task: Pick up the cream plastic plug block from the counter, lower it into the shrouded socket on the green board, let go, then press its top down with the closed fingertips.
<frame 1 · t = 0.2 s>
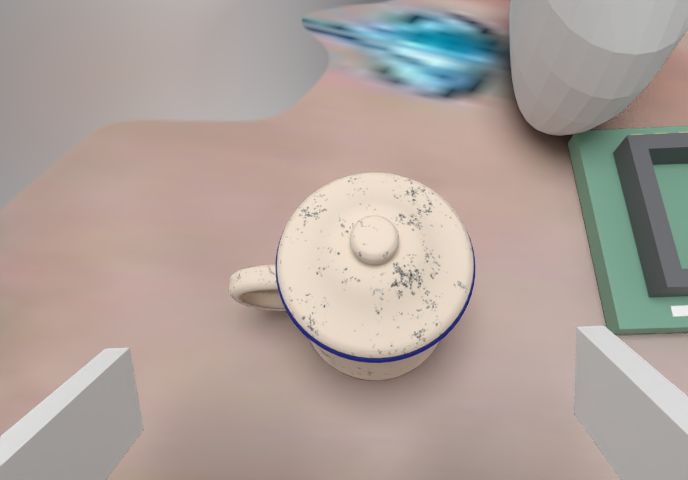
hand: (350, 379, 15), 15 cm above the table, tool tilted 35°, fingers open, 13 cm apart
header board: (684, 228, 32), on the table
teacup with lid: (350, 310, 32), on the table
white round bottle: (554, 85, 37), on the table, touching header board
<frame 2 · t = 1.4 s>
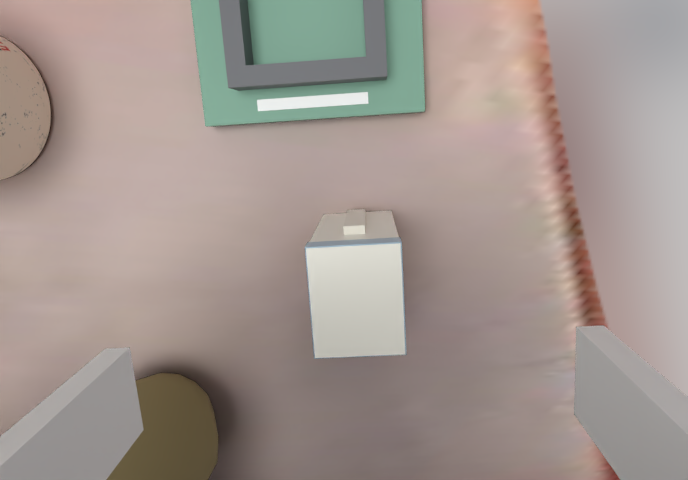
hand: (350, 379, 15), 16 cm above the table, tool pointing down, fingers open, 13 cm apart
plug: (359, 253, 31), on the table
squeeze bottle: (170, 412, 34), on the table, touching arm
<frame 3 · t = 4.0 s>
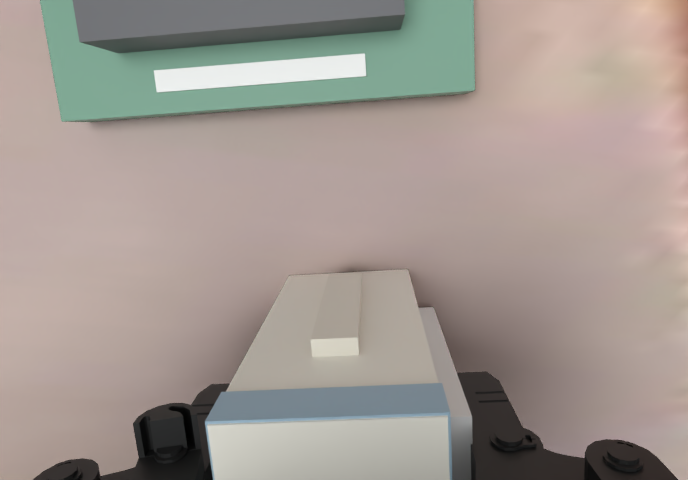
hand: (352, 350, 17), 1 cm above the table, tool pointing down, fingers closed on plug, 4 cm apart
plug: (353, 341, 18), on the table, touching gripper
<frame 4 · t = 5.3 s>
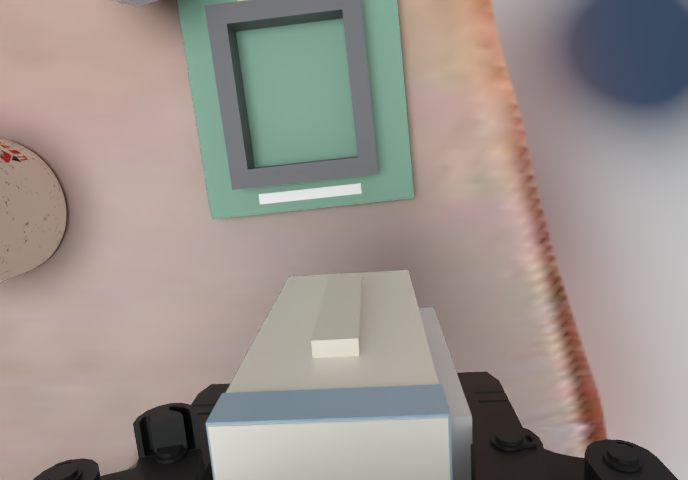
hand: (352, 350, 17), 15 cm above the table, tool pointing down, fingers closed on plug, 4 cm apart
plug: (353, 342, 18), point 15 cm above the table, touching gripper
header board: (300, 97, 31), on the table
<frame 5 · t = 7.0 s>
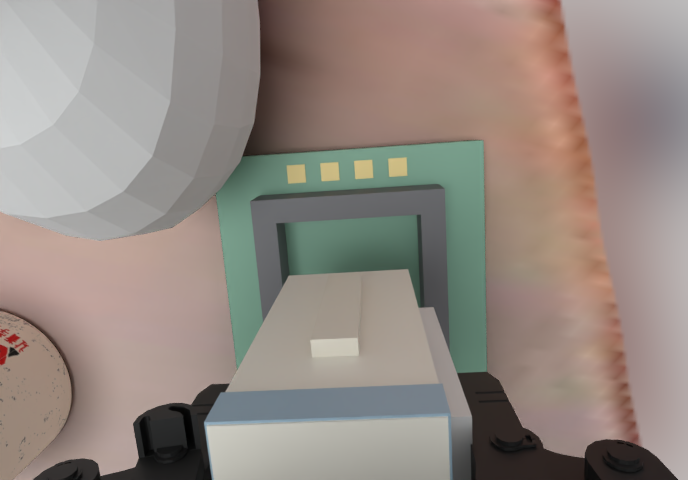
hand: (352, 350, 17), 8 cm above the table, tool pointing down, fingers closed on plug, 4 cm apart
plug: (353, 342, 18), point 8 cm above the table, touching gripper
header board: (355, 282, 26), on the table
white round bottle: (209, 47, 24), on the table, touching header board
when the fingers open (4 cm above the table, at t = 8.4 s): plug drops 2 cm, resting on header board.
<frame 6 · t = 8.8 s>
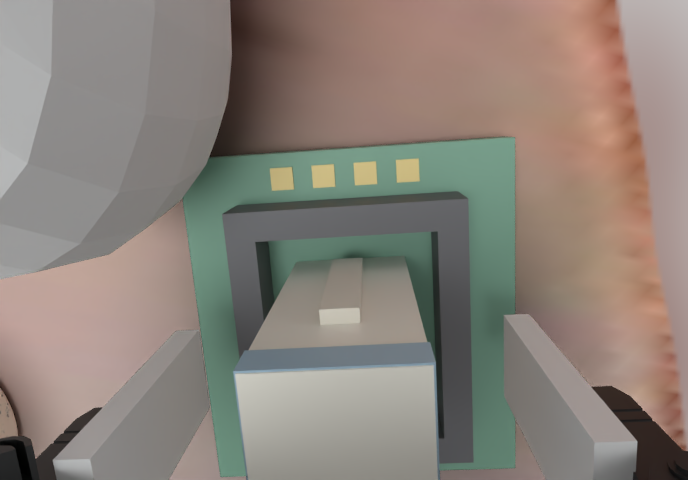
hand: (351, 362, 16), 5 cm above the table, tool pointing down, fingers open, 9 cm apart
plug: (354, 322, 20), point 1 cm above the table, touching header board
header board: (355, 308, 21), on the table
white round bottle: (175, 23, 19), on the table, touching header board
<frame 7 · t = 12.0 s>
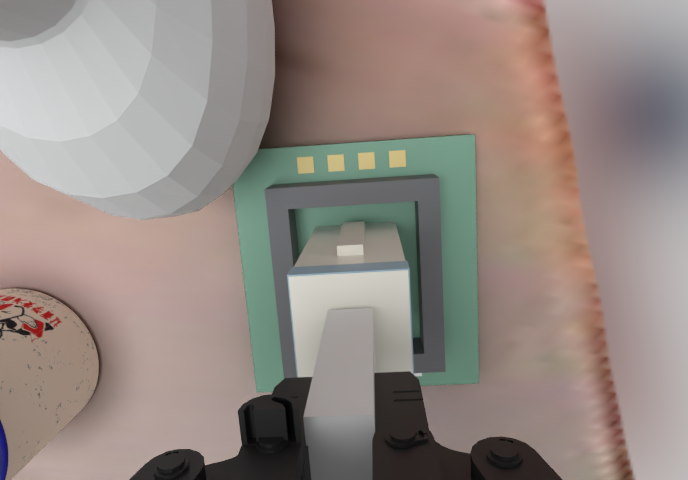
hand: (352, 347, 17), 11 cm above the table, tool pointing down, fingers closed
plug: (358, 272, 27), point 1 cm above the table, touching header board
header board: (359, 264, 28), on the table
teacup with lid: (8, 356, 30), on the table
white round bottle: (226, 50, 26), on the table, touching header board
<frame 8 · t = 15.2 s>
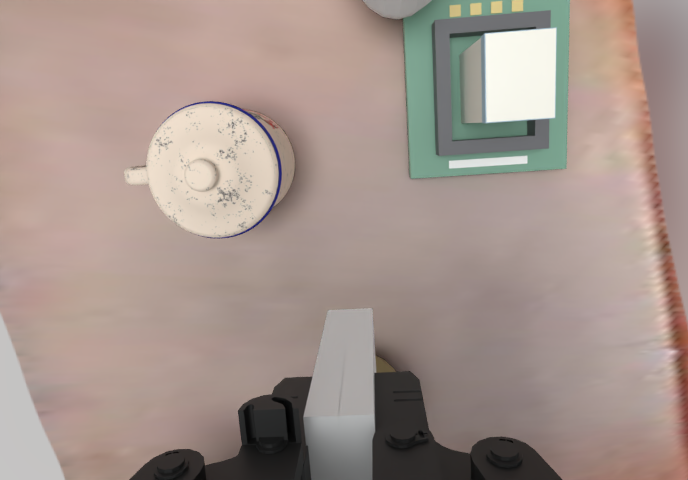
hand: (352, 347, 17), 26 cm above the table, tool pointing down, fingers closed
plug: (486, 87, 39), point 1 cm above the table, touching header board
header board: (482, 89, 41), on the table
teacup with lid: (227, 164, 43), on the table
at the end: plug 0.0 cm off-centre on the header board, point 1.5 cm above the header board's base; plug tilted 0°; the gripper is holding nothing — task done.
